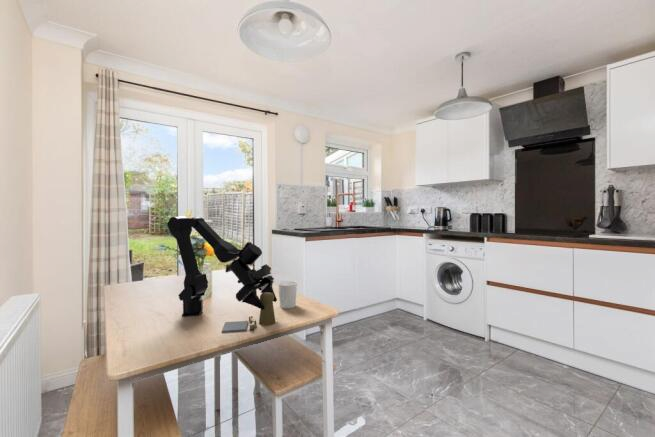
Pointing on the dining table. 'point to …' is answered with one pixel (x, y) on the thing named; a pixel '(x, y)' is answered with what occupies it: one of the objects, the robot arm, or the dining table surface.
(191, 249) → the robot arm
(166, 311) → the dining table surface
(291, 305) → the white cup
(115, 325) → the dining table surface
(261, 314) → the olive pawn
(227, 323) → the slate pad
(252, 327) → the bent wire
